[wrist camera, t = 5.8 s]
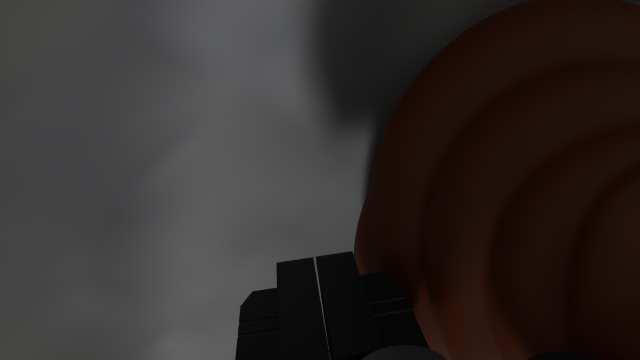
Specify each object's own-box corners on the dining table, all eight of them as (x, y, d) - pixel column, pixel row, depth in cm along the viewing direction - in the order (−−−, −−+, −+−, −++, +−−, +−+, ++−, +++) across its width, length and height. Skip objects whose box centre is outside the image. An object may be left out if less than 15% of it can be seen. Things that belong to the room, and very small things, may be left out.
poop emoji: (414, -47, 13) (720, -140, 4) (758, 46, 14) (1570, 130, 5) (308, 351, 16) (354, 815, 7) (605, 402, 17) (976, 855, 8)
